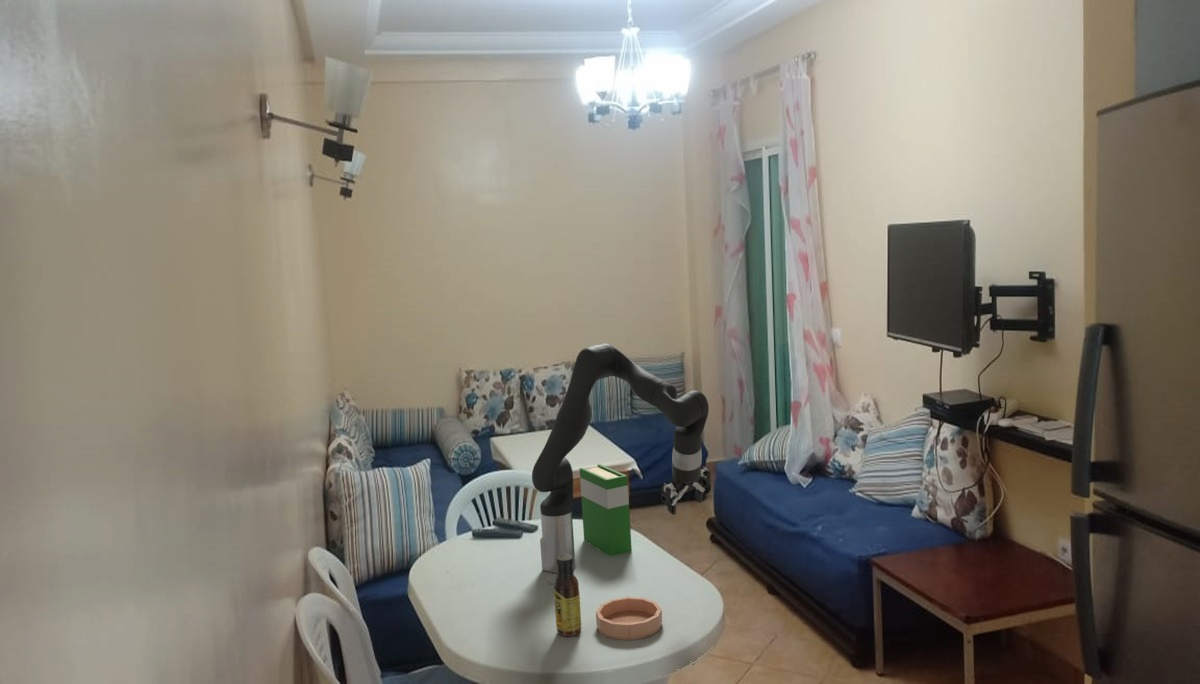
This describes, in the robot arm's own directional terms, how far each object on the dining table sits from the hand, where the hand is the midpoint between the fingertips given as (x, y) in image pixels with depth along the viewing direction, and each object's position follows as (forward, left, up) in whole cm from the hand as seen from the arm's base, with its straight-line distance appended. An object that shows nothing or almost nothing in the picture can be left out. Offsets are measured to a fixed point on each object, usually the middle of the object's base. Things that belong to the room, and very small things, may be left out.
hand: (685, 506), depth 241 cm
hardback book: (-32, +33, -24) cm, 52 cm away
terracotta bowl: (-11, -22, -24) cm, 34 cm away
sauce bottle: (-25, -28, -24) cm, 45 cm away
